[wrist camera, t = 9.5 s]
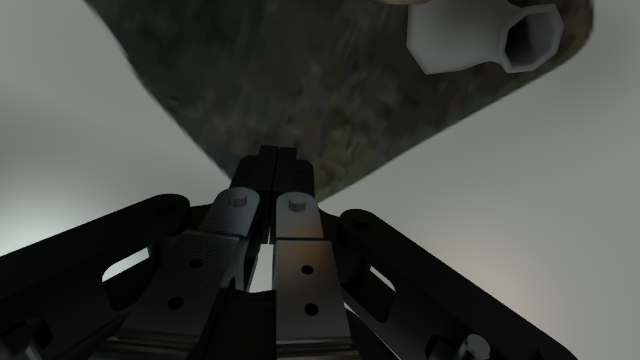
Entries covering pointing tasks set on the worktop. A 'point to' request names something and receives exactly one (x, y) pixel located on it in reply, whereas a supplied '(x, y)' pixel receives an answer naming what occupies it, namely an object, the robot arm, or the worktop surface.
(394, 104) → the worktop surface
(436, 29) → the flask
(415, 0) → the outer post
